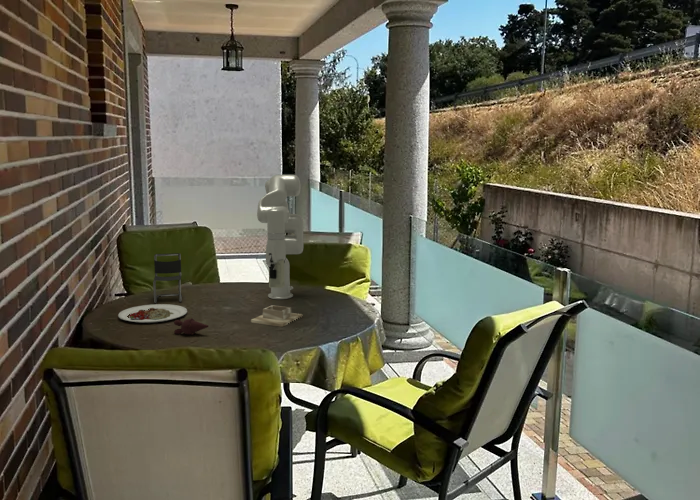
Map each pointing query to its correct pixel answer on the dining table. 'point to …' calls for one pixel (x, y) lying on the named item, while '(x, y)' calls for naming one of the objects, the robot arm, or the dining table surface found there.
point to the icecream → (189, 326)
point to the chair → (167, 268)
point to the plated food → (153, 313)
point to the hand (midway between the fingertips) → (276, 276)
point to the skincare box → (278, 276)
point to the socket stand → (276, 316)
